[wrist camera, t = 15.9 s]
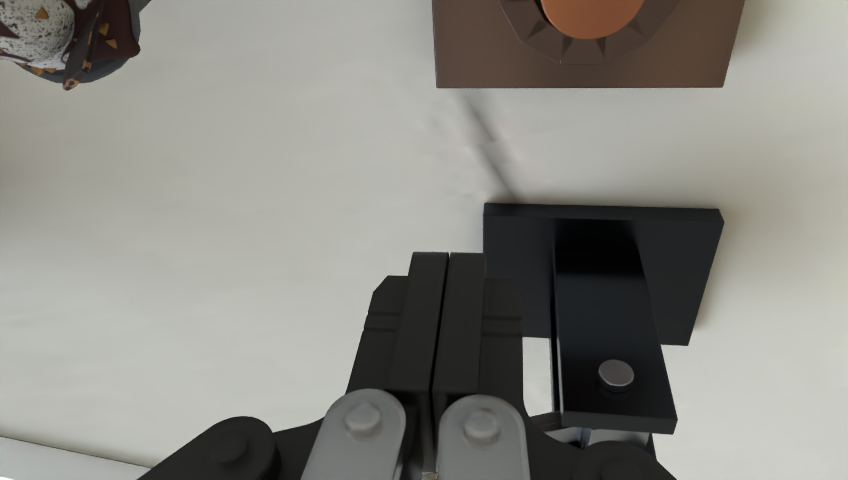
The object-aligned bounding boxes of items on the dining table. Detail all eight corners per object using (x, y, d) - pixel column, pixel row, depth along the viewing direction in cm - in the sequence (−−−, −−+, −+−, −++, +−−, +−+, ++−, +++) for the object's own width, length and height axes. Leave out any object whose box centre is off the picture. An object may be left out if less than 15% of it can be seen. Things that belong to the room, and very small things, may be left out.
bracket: (484, 320, 38) (470, 496, 29) (484, 202, 33) (467, 372, 24) (684, 331, 37) (736, 521, 27) (719, 208, 31) (799, 394, 22)
